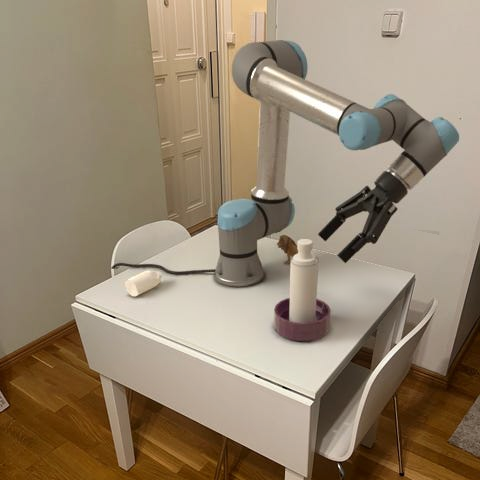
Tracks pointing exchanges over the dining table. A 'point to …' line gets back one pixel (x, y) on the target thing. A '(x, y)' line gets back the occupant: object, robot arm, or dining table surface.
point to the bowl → (301, 329)
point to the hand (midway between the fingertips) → (330, 248)
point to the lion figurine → (287, 246)
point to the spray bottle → (303, 283)
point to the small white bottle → (142, 282)
